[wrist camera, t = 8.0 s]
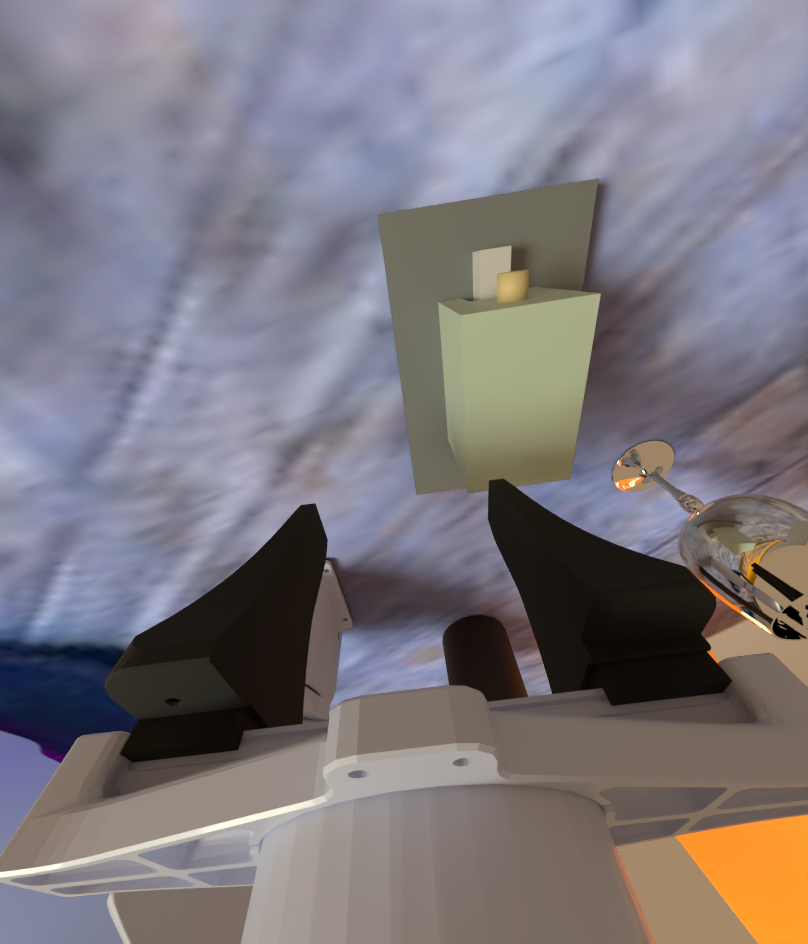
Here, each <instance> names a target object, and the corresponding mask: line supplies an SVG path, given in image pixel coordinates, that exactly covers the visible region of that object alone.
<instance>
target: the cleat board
mask: <svg viewBox="0 0 808 944" xmlns="http://www.w3.org/2000/svg"><path fill="white" fill-rule="evenodd" d="M597 185H598V179H594V180H588V181H582V182H576V183H569V184H563V185H557V186H551V187H545V188H538V189H532V190H526V191H520V192H514V193H507V194H501V195H495V196H489V197H483V198H476V199H470V200H464V201H458V202H452V203H446V204H439V205H433V206H427V207H421V208H415V209H408V210H402V211H396V212H390V213H384V214H378V219H379V226H380V233H381V241H382V248H383V255H384V262H385V270H386V277H387V284H388V291H389V299H390V306H391V313H392V320H393V328H394V335H395V342H396V349H397V357H398V364H399V371H400V378H401V386H402V393H403V400H404V407H405V415H406V422H407V429H408V436H409V444H410V451H411V458H412V466H413V473H414V480H415V487H416V495H419V494H426V493H434V492H441V491H448V490H456V489H463V488H466V486H465V483H464V480H463V478H462V475H461V472H460V470H459V467H458V464H457V462H456V459H455V456H454V454H453V451H452V448H451V446H450V443H449V440H448V430H447V416H446V403H445V389H444V375H443V362H442V348H441V334H440V321H439V307H438V302H443V301H449V300H455V299H464V300H467V301H476V300H482V299H489V298H495V297H497V274H499V273H504V272H510V271H517V270H526V269H529V283H528V288H530V287H543V288H553V289H563V290H573V291H582V290H583V283H584V276H585V269H586V262H587V255H588V248H589V241H590V234H591V227H592V220H593V213H594V206H595V199H596V192H597Z"/></svg>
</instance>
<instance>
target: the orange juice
mask: <svg viewBox="0 0 808 944" xmlns="http://www.w3.org/2000/svg"><path fill="white" fill-rule="evenodd" d="M707 652H708V653H709V654H710V655H711V657H712V658H713V659H714V660H715V661H716V662H717V663H719V661H718V660H717V659H716V658H715V657H714V655H713V654H712V653H711V652H710V651H707ZM676 837H677V839H678V840H679V841H680V842H681V844H682V845H683V846H684V847H685V849H686V850H687V851H688V853H689V854H690V855H691V856H692V858H693V859H694V861H695V862H696V863H697V865H698V866H699V867H700V868H701V870H702V871H703V872H704V873H705V875H706V876H707V878H708V879H709V880H710V881H711V883H712V884H713V885H714V887H715V888H716V889H717V890H718V892H719V893H720V894H721V896H722V897H723V898H724V899H725V901H726V902H727V903H728V905H729V906H730V907H731V909H732V910H733V911H734V913H735V914H736V915H737V916H738V918H739V919H740V920H741V922H742V923H743V924H744V925H745V927H746V928H747V929H748V931H749V932H750V933H751V935H752V936H753V937H754V938H755V940H756V941H757V942H758V944H808V815H805V816H797V817H789V818H781V819H774V820H768V821H761V822H754V823H748V824H742V825H736V826H730V827H724V828H718V829H712V830H707V831H701V832H696V833H690V834H685V835H679V836H676Z"/></svg>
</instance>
